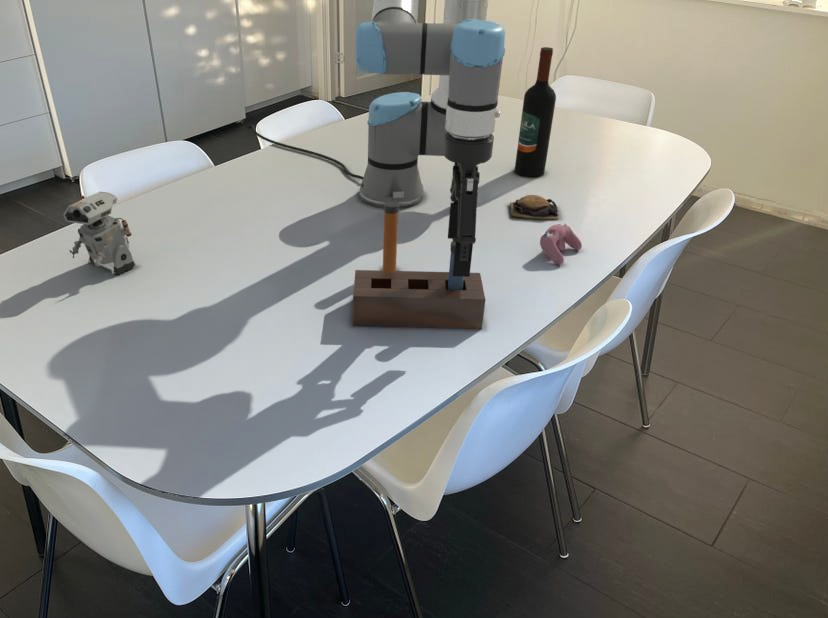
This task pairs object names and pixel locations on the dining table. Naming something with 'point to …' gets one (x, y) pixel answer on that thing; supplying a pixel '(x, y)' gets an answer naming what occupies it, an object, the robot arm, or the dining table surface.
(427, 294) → the rack
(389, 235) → the amber tube
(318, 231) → the dining table surface
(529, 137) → the wine bottle
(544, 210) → the bread roll
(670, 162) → the dining table surface
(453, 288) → the smoke-blue tube
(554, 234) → the video game controller
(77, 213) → the figurine
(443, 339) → the dining table surface
